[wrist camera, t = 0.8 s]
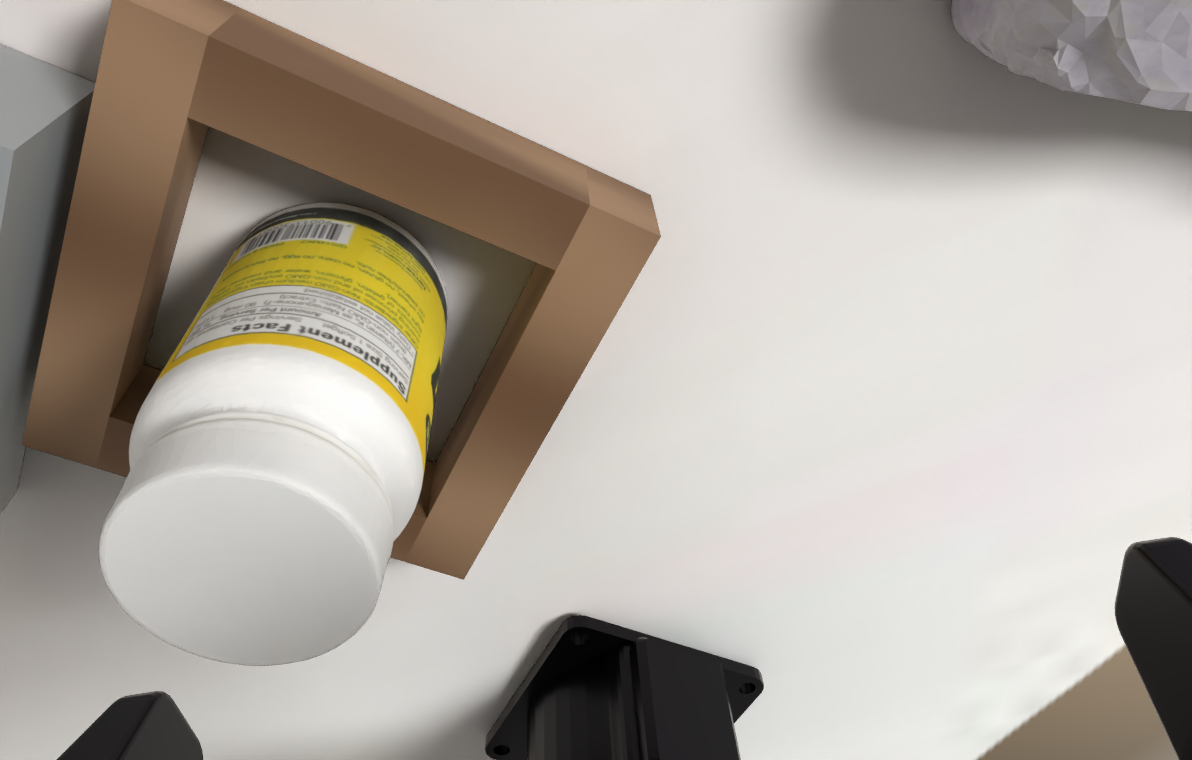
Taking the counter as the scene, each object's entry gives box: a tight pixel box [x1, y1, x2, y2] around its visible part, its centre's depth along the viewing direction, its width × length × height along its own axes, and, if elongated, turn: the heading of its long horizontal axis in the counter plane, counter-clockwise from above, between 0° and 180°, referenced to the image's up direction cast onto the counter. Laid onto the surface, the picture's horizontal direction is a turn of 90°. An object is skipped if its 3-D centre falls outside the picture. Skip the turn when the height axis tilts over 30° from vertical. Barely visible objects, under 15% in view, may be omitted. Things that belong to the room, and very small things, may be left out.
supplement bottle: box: [99, 203, 448, 666], centre depth 17 cm, size 5×5×8 cm
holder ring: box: [22, 0, 661, 580], centre depth 20 cm, size 10×10×2 cm
